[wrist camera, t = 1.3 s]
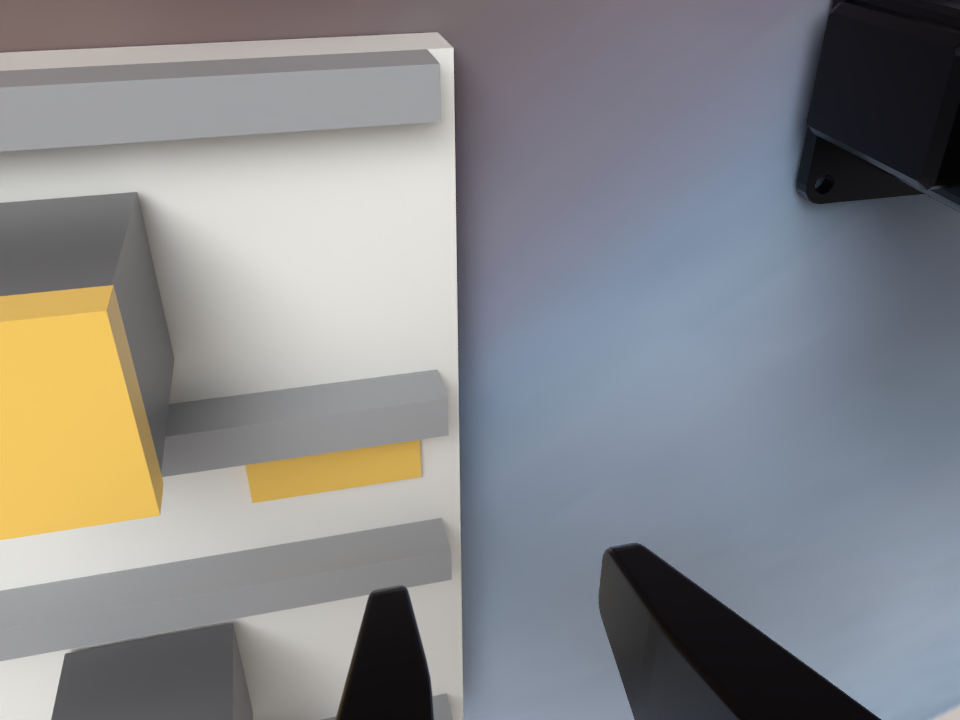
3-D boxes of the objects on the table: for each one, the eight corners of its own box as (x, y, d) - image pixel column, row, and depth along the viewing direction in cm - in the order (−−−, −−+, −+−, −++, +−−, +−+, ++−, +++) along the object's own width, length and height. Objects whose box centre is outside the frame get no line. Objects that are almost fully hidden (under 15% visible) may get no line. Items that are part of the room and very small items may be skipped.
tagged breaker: (140, 188, 15) (106, 310, 12) (177, 360, 17) (160, 515, 13) (-110, 208, 15) (-238, 347, 11) (-41, 387, 17) (-128, 560, 13)
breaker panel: (437, 32, 17) (467, 62, 15) (453, 681, 27) (472, 755, 25) (-687, 84, 13) (-873, 135, 11) (-172, 809, 24) (-214, 910, 22)
